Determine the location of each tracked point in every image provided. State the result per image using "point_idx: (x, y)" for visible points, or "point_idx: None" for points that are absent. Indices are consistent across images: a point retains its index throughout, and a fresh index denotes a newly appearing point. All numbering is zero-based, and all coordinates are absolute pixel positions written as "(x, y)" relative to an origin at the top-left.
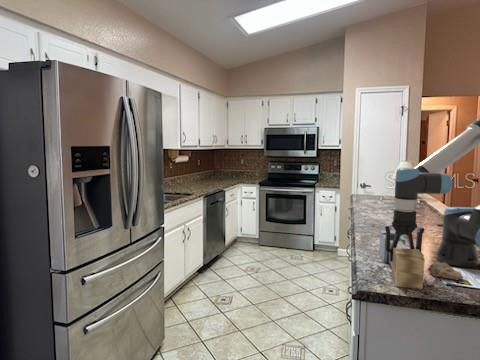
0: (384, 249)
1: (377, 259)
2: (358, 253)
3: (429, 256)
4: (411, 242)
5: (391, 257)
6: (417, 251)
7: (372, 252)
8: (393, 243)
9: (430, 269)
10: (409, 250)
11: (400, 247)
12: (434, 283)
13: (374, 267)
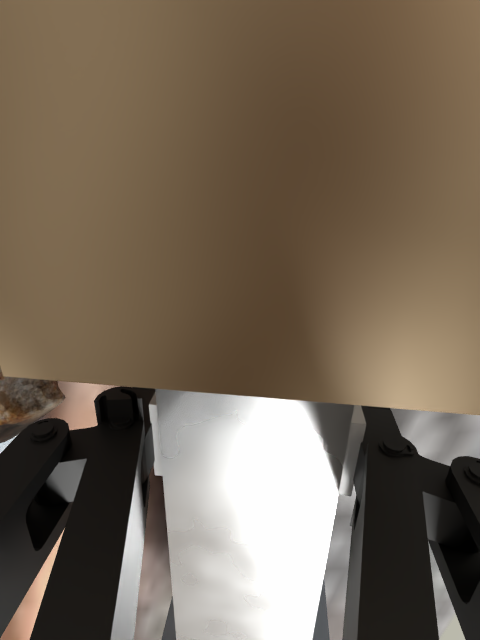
0: (327, 619)
1: (345, 552)
2: (437, 623)
3: (35, 599)
4: (80, 594)
5: (382, 409)
6: (30, 238)
7: (337, 635)
8: (425, 597)
9: (41, 384)
10: (201, 278)
11: (244, 573)
12: None
13: (425, 432)
